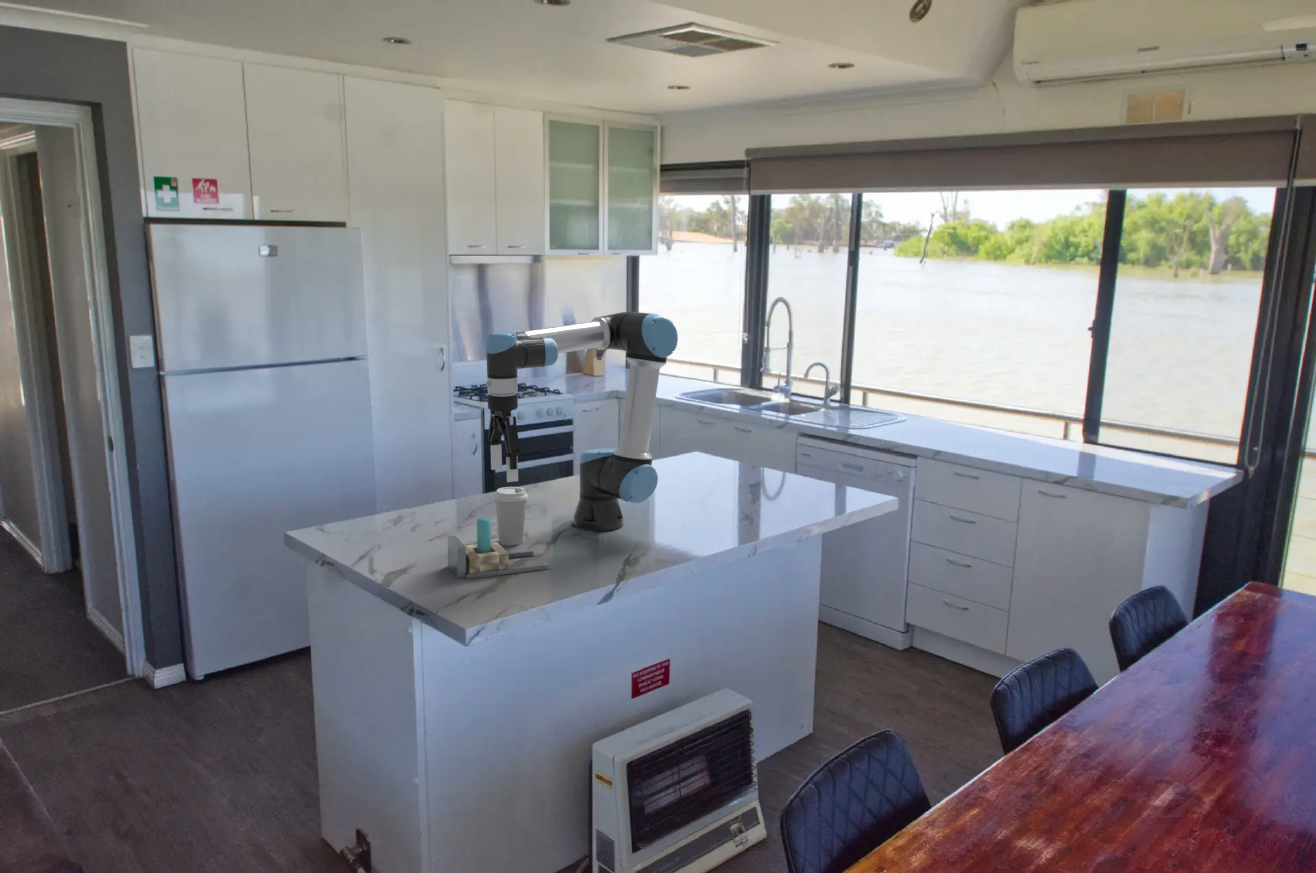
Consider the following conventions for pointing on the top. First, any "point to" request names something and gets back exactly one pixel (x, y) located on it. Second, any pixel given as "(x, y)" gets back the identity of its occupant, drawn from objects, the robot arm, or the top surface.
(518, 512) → the coffee cup
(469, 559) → the block
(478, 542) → the dowel
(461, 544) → the backstop
